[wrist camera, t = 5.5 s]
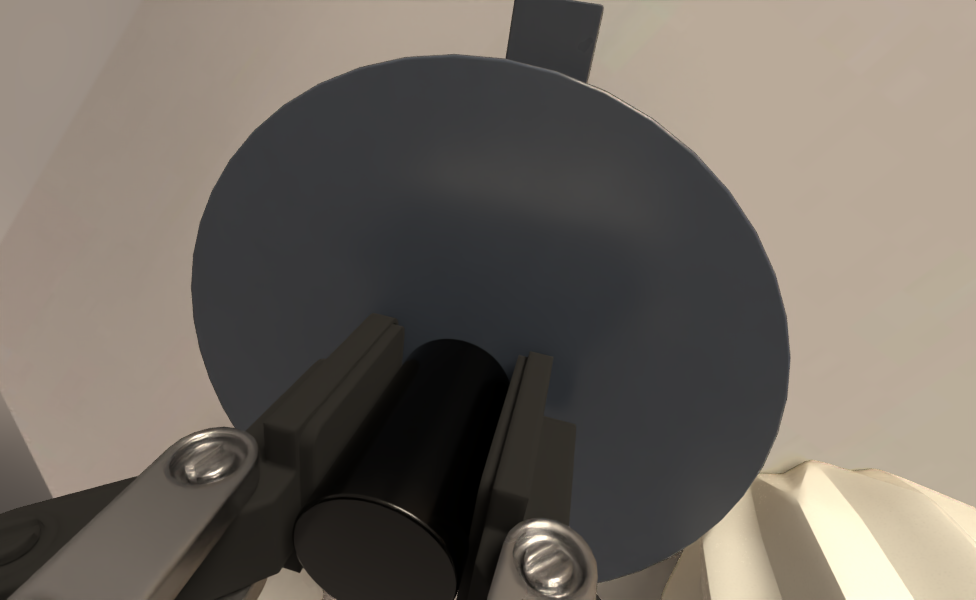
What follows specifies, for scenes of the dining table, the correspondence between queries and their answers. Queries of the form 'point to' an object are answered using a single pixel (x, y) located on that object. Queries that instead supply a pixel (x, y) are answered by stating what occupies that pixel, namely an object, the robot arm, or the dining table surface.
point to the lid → (493, 309)
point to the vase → (833, 542)
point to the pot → (555, 35)
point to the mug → (291, 587)
